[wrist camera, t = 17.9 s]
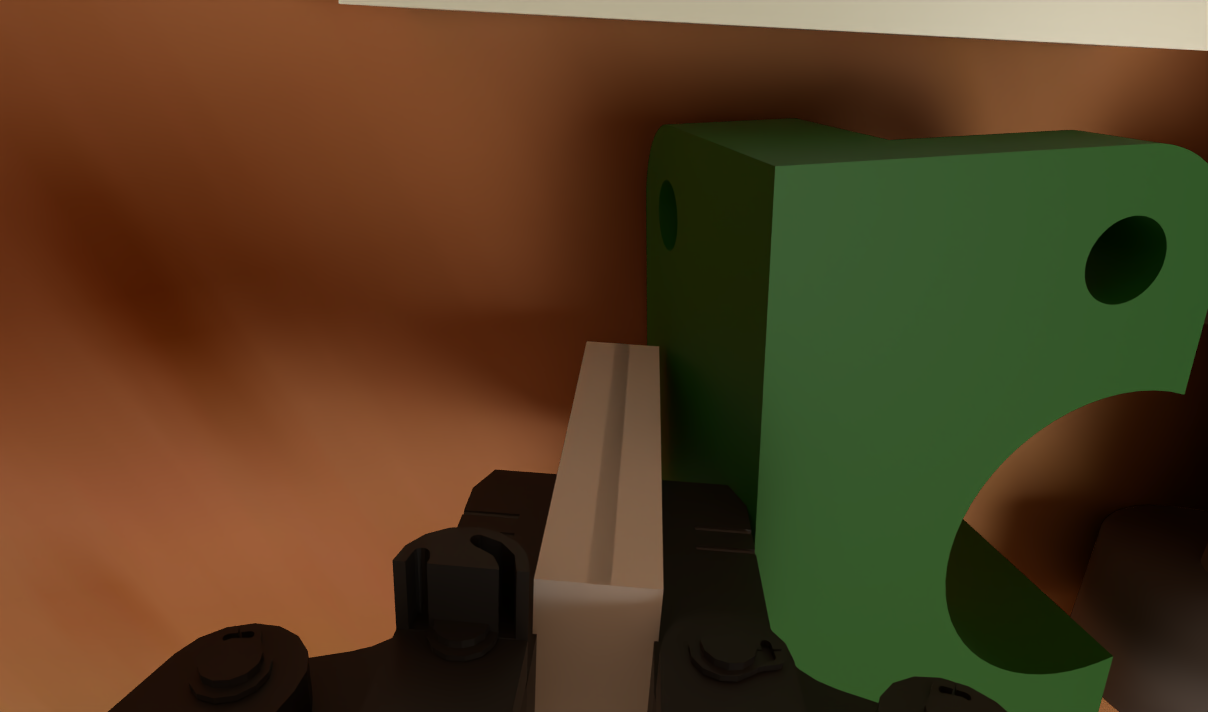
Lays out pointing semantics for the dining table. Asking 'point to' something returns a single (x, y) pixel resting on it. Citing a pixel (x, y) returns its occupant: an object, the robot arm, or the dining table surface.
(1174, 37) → the tray
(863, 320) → the clamp
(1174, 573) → the trolley
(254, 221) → the dining table surface
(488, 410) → the dining table surface
